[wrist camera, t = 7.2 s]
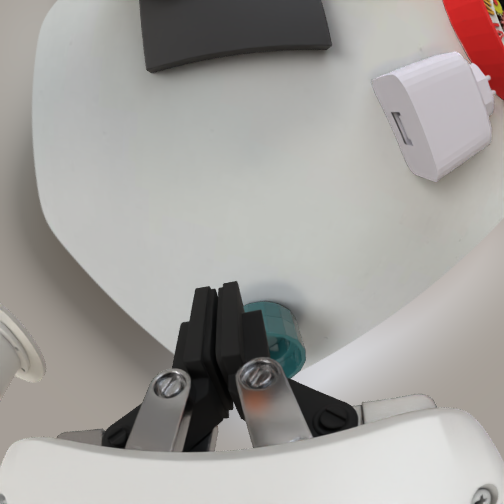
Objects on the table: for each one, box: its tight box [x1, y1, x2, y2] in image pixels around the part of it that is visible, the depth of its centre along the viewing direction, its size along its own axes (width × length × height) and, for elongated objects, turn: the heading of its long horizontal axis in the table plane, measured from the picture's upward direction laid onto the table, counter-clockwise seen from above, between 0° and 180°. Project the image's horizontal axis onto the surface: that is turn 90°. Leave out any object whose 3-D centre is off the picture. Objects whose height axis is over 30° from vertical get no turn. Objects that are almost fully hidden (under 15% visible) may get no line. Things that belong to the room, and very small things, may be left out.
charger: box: [372, 52, 496, 182], centre depth 16 cm, size 5×9×15 cm
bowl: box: [243, 301, 306, 379], centre depth 25 cm, size 7×7×5 cm
